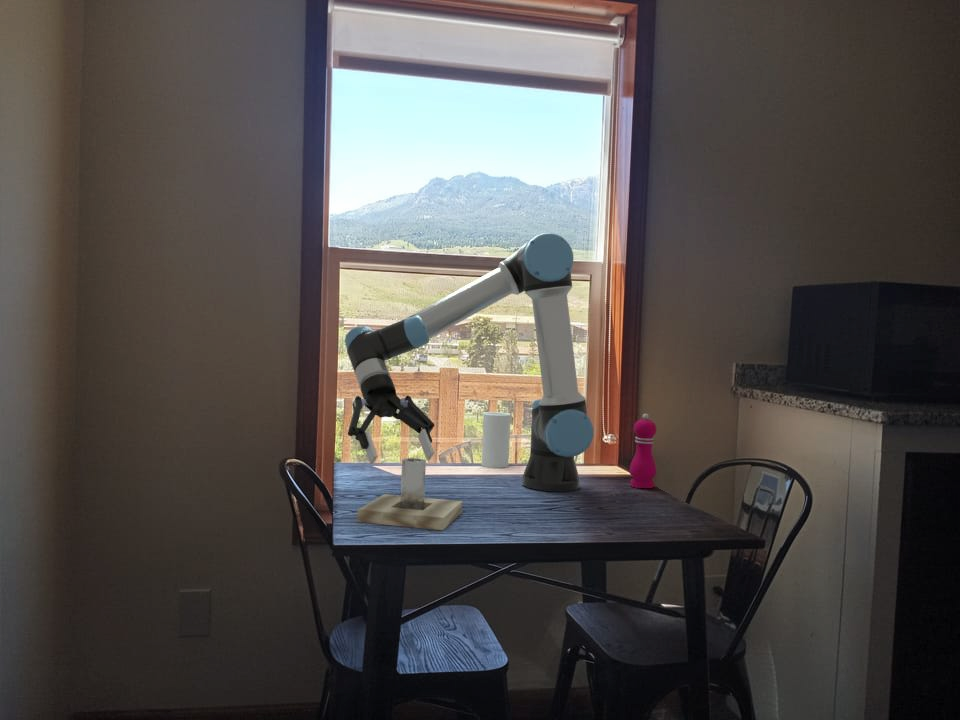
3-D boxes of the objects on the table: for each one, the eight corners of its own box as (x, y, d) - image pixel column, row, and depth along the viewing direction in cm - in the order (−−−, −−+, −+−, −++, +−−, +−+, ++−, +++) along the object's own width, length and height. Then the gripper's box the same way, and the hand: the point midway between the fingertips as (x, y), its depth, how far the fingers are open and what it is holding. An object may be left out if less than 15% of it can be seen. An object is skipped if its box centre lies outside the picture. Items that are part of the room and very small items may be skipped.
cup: (508, 468, 218) (511, 415, 218) (481, 467, 218) (483, 414, 218) (508, 464, 226) (510, 412, 226) (481, 462, 227) (483, 411, 226)
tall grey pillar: (426, 515, 156) (428, 458, 156) (419, 520, 151) (422, 462, 151) (404, 513, 157) (406, 457, 157) (396, 518, 152) (398, 460, 152)
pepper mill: (647, 484, 203) (651, 412, 202) (660, 489, 196) (664, 415, 195) (624, 484, 201) (627, 412, 200) (636, 489, 194) (639, 414, 193)
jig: (462, 512, 160) (462, 501, 160) (442, 530, 144) (443, 517, 144) (384, 505, 164) (384, 494, 163) (357, 521, 148) (357, 509, 148)
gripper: (417, 393, 178) (446, 464, 166) (319, 393, 164) (343, 472, 152) (428, 372, 173) (459, 444, 161) (329, 371, 159) (354, 450, 147)
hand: (403, 458), depth 156 cm, fingers open, 13 cm apart
